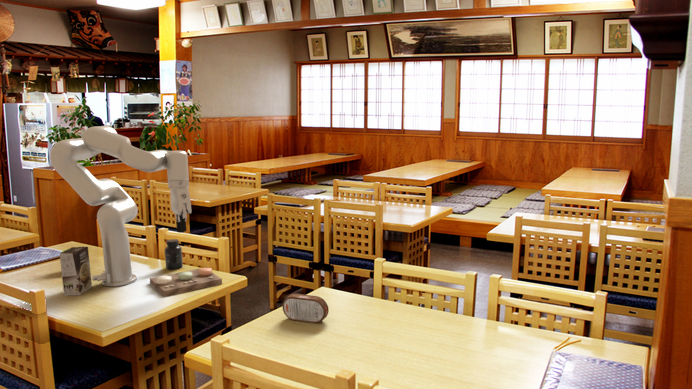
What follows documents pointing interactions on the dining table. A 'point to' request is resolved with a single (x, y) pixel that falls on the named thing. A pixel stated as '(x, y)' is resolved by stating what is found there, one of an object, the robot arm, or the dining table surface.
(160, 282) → the cream button
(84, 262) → the coffee box
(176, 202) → the robot arm
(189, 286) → the button panel
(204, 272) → the terracotta button
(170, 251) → the supplement bottle
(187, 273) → the sage button
